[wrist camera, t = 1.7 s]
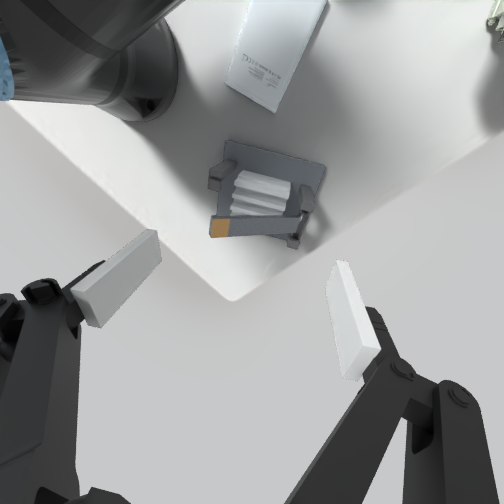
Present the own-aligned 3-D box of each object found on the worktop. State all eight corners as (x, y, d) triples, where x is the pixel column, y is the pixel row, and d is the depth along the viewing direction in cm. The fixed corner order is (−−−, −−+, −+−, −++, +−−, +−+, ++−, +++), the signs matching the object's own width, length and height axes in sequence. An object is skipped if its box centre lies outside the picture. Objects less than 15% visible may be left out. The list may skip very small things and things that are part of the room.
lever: (207, 239, 26) (210, 246, 25) (211, 206, 23) (214, 211, 22) (295, 234, 32) (301, 239, 31) (305, 207, 30) (312, 211, 29)
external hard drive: (327, 2, 25) (275, 114, 32) (266, -40, 24) (226, 84, 31) (329, -5, 24) (274, 113, 31) (265, -49, 23) (223, 82, 30)
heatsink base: (217, 218, 42) (198, 244, 33) (228, 140, 34) (205, 147, 25) (296, 239, 41) (297, 271, 33) (324, 165, 34) (336, 180, 25)
